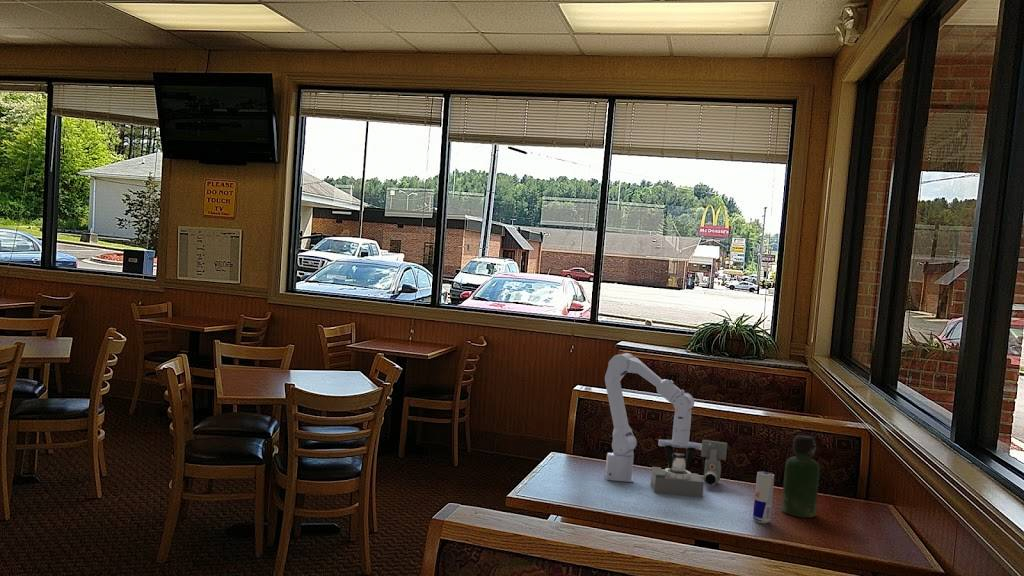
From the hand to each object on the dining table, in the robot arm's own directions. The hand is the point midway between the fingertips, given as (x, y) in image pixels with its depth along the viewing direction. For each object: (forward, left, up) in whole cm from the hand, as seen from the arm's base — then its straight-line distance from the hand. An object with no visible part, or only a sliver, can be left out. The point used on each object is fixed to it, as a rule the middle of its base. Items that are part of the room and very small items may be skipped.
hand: (677, 468), depth 276 cm
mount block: (0, 0, -7) cm, 7 cm away
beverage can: (+22, -27, -8) cm, 36 cm away
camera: (+14, +12, -8) cm, 20 cm away
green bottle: (+37, -14, -8) cm, 40 cm away
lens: (0, 0, -2) cm, 2 cm away
